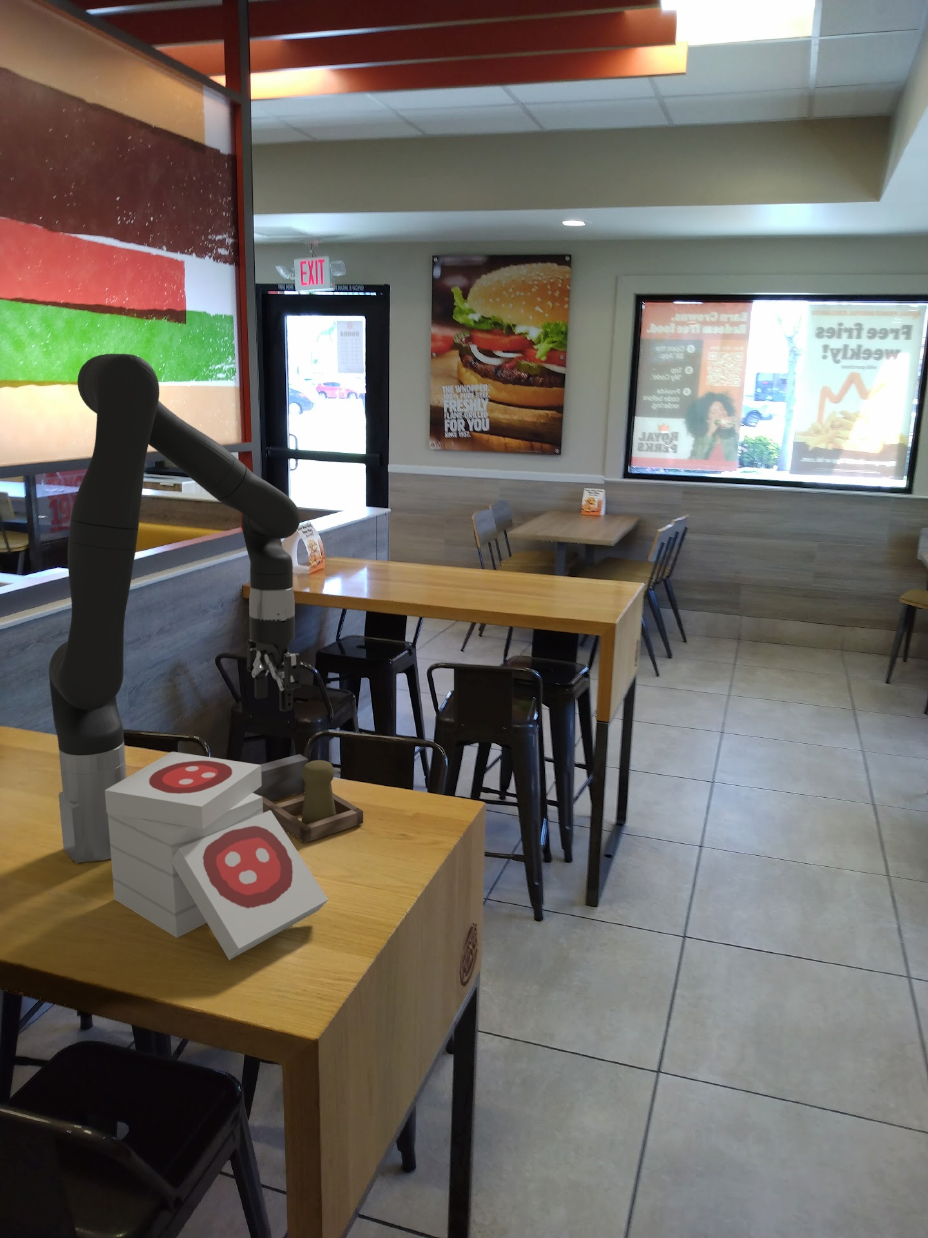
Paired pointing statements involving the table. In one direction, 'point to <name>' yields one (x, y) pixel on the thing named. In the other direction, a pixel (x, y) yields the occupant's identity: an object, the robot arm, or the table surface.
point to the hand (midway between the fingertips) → (273, 704)
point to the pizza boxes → (206, 852)
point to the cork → (318, 791)
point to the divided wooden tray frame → (300, 801)
